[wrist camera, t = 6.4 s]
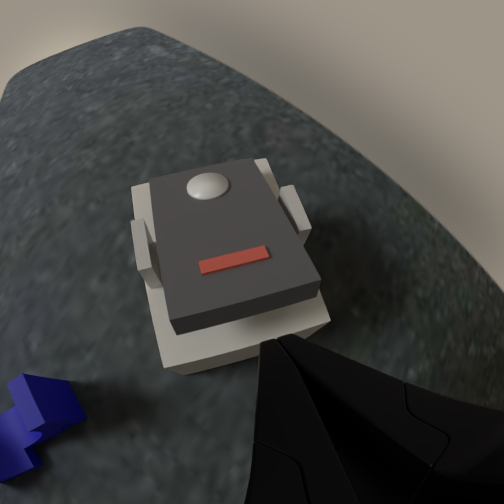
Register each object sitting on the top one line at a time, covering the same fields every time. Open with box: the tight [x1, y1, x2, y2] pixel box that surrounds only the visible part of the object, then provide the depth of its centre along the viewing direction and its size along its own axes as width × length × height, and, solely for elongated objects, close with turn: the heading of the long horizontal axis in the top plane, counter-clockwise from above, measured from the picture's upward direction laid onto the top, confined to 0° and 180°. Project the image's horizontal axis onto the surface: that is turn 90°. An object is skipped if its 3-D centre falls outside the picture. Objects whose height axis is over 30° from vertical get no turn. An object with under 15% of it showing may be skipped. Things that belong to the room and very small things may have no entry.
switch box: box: [131, 158, 331, 375], centre depth 18 cm, size 10×8×9 cm
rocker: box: [149, 158, 321, 335], centre depth 14 cm, size 8×6×1 cm, turn 18°
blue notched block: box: [0, 374, 87, 483], centre depth 13 cm, size 12×4×6 cm, turn 125°
